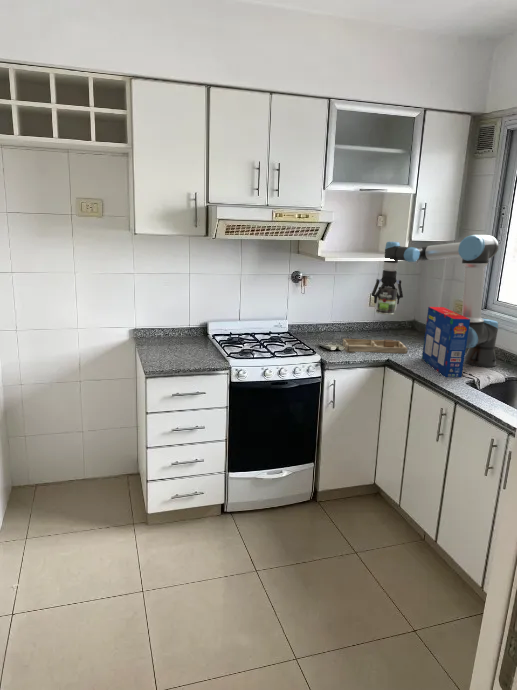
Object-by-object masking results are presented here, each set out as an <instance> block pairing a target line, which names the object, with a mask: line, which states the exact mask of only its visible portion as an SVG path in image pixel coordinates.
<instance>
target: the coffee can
mask: <svg viewBox="0 0 517 690" xmlns="http://www.w3.org/2000/svg"><path fill="white" fill-rule="evenodd" d="M380 287H381V286H378V288H377V290H380V292H379V295H378V298H379V299H378V308H377V309H375V311H376V312H375V313H376V314H380V315H388V316H389V315H390V316H392V315H395V311H396V310H395V303H396V298H397V297H396V294H397V293H398V288H396V289H392V287H384V288H383V289H381V288H380Z"/></svg>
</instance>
